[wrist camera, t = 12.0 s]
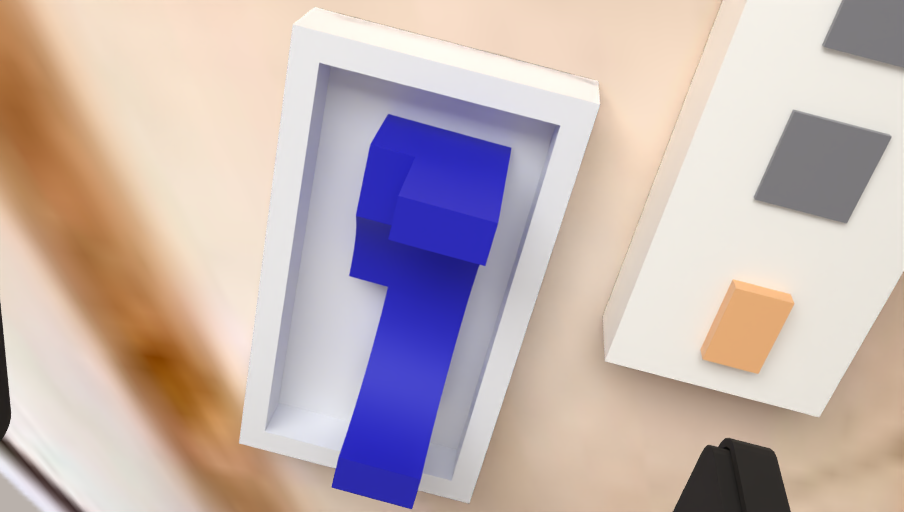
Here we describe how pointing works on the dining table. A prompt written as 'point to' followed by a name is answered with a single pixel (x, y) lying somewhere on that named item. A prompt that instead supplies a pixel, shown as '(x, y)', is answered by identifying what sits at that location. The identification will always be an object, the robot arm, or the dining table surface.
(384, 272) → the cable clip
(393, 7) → the dining table surface
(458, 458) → the cable tray
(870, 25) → the power strip
